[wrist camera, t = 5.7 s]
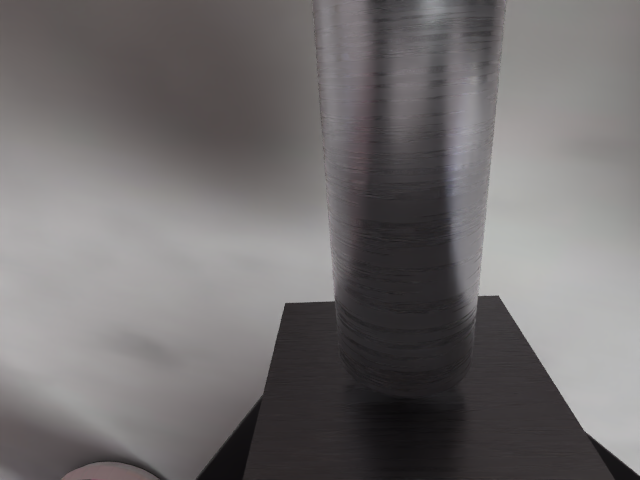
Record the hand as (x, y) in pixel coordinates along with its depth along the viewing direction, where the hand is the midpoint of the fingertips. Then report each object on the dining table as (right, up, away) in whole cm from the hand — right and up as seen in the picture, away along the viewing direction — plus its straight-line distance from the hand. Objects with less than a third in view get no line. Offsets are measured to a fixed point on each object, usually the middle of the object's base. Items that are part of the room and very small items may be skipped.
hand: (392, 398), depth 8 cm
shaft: (-1, +8, -3) cm, 9 cm away
